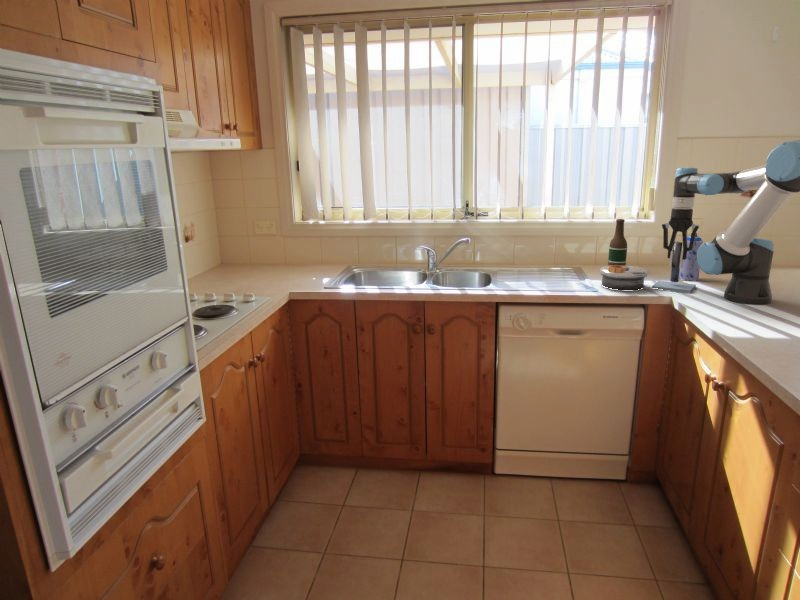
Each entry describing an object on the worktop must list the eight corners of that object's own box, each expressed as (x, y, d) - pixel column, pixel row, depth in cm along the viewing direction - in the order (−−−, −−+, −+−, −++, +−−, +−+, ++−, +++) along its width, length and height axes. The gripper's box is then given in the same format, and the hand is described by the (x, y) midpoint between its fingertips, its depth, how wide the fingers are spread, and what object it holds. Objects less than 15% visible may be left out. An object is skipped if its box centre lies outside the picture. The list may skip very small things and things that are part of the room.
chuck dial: (614, 268, 242) (615, 259, 241) (655, 274, 228) (656, 264, 227) (591, 274, 231) (592, 264, 230) (632, 281, 217) (633, 271, 216)
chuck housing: (647, 285, 233) (648, 273, 231) (637, 293, 220) (638, 280, 219) (608, 280, 242) (609, 269, 241) (596, 288, 229) (597, 276, 228)
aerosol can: (702, 281, 238) (708, 234, 233) (683, 281, 238) (689, 234, 233) (693, 277, 246) (698, 231, 241) (675, 277, 246) (680, 231, 241)
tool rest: (695, 287, 228) (695, 284, 227) (690, 293, 218) (690, 290, 218) (658, 283, 236) (658, 280, 235) (651, 288, 226) (652, 286, 226)
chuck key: (673, 279, 229) (676, 241, 223) (680, 281, 226) (683, 242, 221) (668, 281, 227) (672, 242, 222) (675, 282, 225) (679, 243, 219)
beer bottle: (607, 272, 259) (611, 220, 253) (607, 268, 266) (610, 218, 260) (625, 272, 257) (630, 220, 251) (624, 269, 264) (628, 218, 258)
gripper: (658, 207, 220) (652, 266, 226) (703, 209, 211) (696, 270, 217) (662, 206, 226) (656, 263, 232) (707, 208, 217) (699, 267, 223)
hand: (675, 266), depth 225 cm, fingers closed on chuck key, 3 cm apart
